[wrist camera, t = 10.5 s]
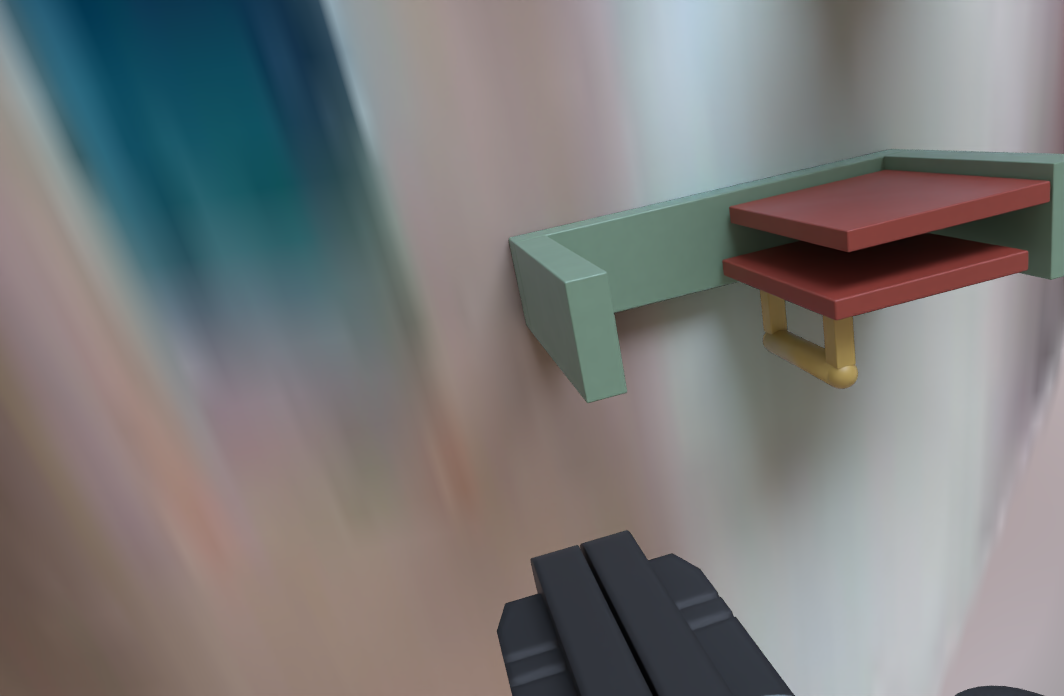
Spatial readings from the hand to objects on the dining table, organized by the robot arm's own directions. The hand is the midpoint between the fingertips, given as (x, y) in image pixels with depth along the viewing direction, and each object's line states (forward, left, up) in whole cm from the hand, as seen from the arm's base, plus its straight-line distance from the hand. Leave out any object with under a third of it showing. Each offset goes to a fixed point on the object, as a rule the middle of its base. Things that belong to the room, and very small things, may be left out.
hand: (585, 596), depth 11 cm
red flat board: (+11, -13, -23) cm, 29 cm away
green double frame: (+10, -9, -25) cm, 28 cm away
